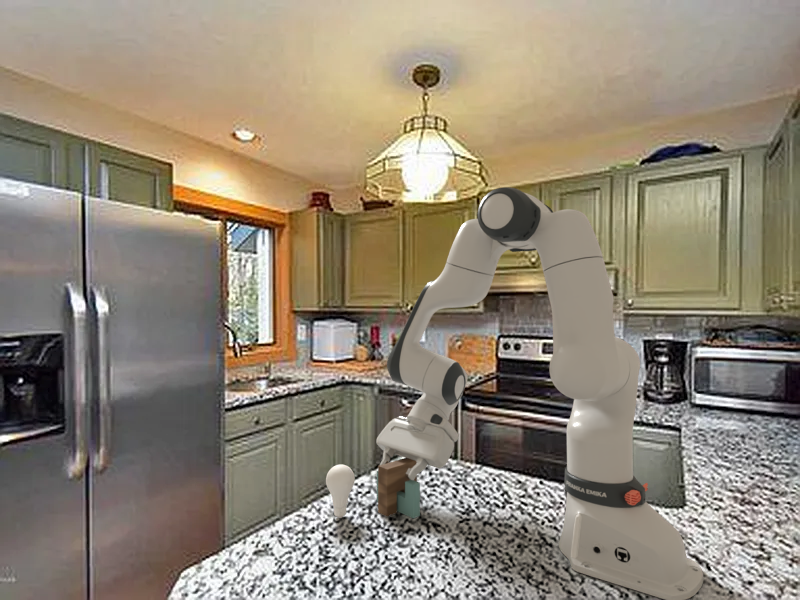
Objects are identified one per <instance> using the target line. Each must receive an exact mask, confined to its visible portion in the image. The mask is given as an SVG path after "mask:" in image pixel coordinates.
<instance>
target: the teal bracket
mask: <svg viewBox="0 0 800 600" xmlns="http://www.w3.org/2000/svg"><path fill="white" fill-rule="evenodd" d="M376 503H378V470H376ZM397 512H398V513H400V514H403V515H404V516H406V517H409V518H411V519H415V518H417V517H420V516H421V483H420V482H419V481H414V480H409V481H406V482H405V493H404V492H401V491H398V492H397Z"/></svg>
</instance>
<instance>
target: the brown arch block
mask: <svg viewBox="0 0 800 600" xmlns="http://www.w3.org/2000/svg"><path fill="white" fill-rule="evenodd" d="M416 464H417V462H416V461H414V460H411V459H408V458H405V457H403V458H401V459H396V460H394V461H391V462H390V461H389V463H387V464H383V465H380V464H379V465H378V466H377V471H378V502H377V513H378V514H380V515H382V516H385V517H390V516H393V515H395V514H397V512H398V511H397V492H398V491H401V492H404V493H405V482H406V481H409V480H410V479H408V478H407V477H406V476H405V474H406V472H407V470H408V468H410V469H411V468H413V467H414V466H415V465H416ZM417 480H418V475H417V476H416V477H415V479H414V481H417ZM417 482H418V481H417Z"/></svg>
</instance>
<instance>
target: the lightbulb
mask: <svg viewBox="0 0 800 600" xmlns="http://www.w3.org/2000/svg"><path fill="white" fill-rule="evenodd" d="M355 478H356V477H355V473H354V472H353V470H352V469H351V467H349V466H348V465H345V464H336V465H334V466H332V467H331V468H330V469H329V470H328V472H327V474H326V478H325V484H326V487H327V490H328V491H329V493H330V496H331V498H332V499H331V500H332V505H333V511H334V512H333V513H334V514H333V515H334V516H335V517H337V518H339V519H343V517H345V516H346V515H347V506H348V503H349V497H350V494H351V491H352V490H353V487H354V485H355V482H356V481H355V480H356V479H355Z"/></svg>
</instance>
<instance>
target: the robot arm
mask: <svg viewBox="0 0 800 600" xmlns="http://www.w3.org/2000/svg"><path fill="white" fill-rule="evenodd" d="M507 251H510V252H512V253H516V252H517V253H519V252H534V251H536V252H537V254H538V256H539V259H540V264H541V268H542V272H543V277H544V281H545V284H546V290H547V294H548V299H549V303H550V308H551V309H550V310H551V314H552V315H551V316H552V317H551V318H552V349H553V350H552V356H551V359H550V362H549V366H548V368H549V376H550V377H549V378H550V379H551V381H552V383H553V385H554V387H555V388H556V389H557V391H559V392H560V393H561V394H563V395H564V396H565V397H567V398H570V399H572V400H573V402H572V404H573V405H572V408H571V413H570V417H569V419H568V421H567V425H566V464H567V465H566V467H565V469H564V495H565V498H566V502H565V513H564V521H563V525H562V530H561V534H560V537H559V541H558V547H559V550H560V552H561V553H562V554H563V555H564V556H565V557H566V558H567V560H568V561H569V563H570V567H571V569H573V571H575V572H577V573H581V574H584V575H587V576H590V577H593V578H595V579H600V580H602V581H605V582H608V583H612V584H615V585H617V586H621V587H624V588H627V589H631V590H634V591H637V592H640V593H643V594H646V595H650V596H653V597H656V598H659V599H663V600H688V599H690V598H692V597H693V596H695V595H696V594H697V593H698V592H699V591H700V590H701V587H702V586H703V584H704V573H703V568H702V567H701V565H700V564H699V563H698V562H696V561H695V560H692V559H690V558H688V557H687V551H686V547H685V543H684V540H683V537H682V536H681V533H680V531H679V530H678V529H677V528H676V527H675V526H674V525H673V524H671V523H670V522H668V520H666V519H665V518H664V517H663V516H662V515H661V514H660V513H659V512H658V511H657V510H655V509H654V508H653V507H652V506H651V505H650V504H649V503H648V502H647V501H646V499H647V498H646V492H647V491H648V490H649V488H648V485H649V484H648V482H646V483H644V484H642V483H640V481H638V479H637V478H636V477H635V476H634V452H633V451H634V448H633V447H634V446H633V445H634V441H633V435H634V431H633V430H634V422H635V417H636V416H635V414H636V405H637V398H638V388H639V387H638V385H639V376H640V375H639V373H640V368H641V361H640V357H639V354H638V353H637V351H636V349H635V348H634V347H633V346H632V345H631V344H630V343H628V342H627V341H625V340H624V339H622V338H619V337H618V336H616V333H615V325H614V311H613V310H614V308H613V307H614V302H615V301H614V295H613V290H612V287H611V283H610V278H609V275H608V272H607V267H606V263H605V260H604V256H603V251H602V249H601V247H600V244H599V240H598V238H597V235H596V232H595V230H594V229H593V226H592V224H591V222H590V221H589V218H588V216H587V215H586V214H585V213H584V212H582V211H580V210H578V209H571V208H570V209H569V208H566V209H559V210H556V211H553V210H552V208H550V206H548V205H547V204H545V203H543V202H542V201H540V199H538V198H537V197H536V196H534V195H532V194H529V193H526V192H523V191H522V190H520V189H518V188H514V187H508V186H504V187H498V188H495V189H492V190H491V191H489V192H488V193H487V194H486V195H485V196H484V197H483V198H482V200H481V201H480V204H479V206H478V210H477V218H472V219H468V220H466V221H465V222H464V223H463V222H462V224H461V226H460V227H459V229H458V231H457V233H456V235H455V238H454V240H453V242H452V245H451V247H450V249H449V253H448V256H447V259H446V262H445V265H444V268H443V269H442V272H441V273H440V275H439V276H438V277H437V278H436V279H434V280H431V281H429V282H427V283H426V285H424V287H423V289H422V290H421V292H420V294H419V295H418V298H417V299H416V302H415V304H414V306H413V307H412V310H411V312H410V314H409V316H408V319H407V321H406V322H405V325H404V327H403V329H402V332H401V333H400V336H399V338H398V340H397V341H396V343H395V344H394V346H393V348H392V350H391V351H390V353H389V355H388V358H387V360H386V369H387V371H388V374H389V376H390V378H391V379H392V381H393V382H396V383H399V384H402V385H404V386H409V387H410V388H413V389H415V390H418V392H419V391H420V392H422V394H421V397H419V398H418V399H417V400H416V401H415V402H414V405H413V406H412V408H411V410H410V411H409V413H408V414H407V416H406V417H405V416H403V415H399V416H397V417H395V418H392V419H391V420H390V421H389V422H388V423H387V424H386V425H385V427H383V429H382V430H381V431H380V433H379V434H378V436H377V437H376V445H378V447H379V448H380V449H381V450H382V451H383V453H382V460H381V462H380V463H379V466H380V465H383V464H387V463H390V461H391V458H393V457H394V455H396V456H400V457H402V458H408V459H411V460H414V461H416V462H417V464H416V465H415V466H414V467H413V468H411V469H410V468H408V470H407V472H406V474H405V476H406V477H407V478H408V479H410V480H414V479H415V477H416V476H417V477H418V475H419V474H420V473H421V472H423V471H424V470H426V469H427V467H428V466H430V467H433V468H436V469H442V468H443V467H445V466H446V465H447V463H448V461H449V459H450V457H451V455H452V453H453V451H454V449H455V448H454V447H455V443H456V442H457V441H458V439H459V438H460V436H459V434H458V432H457V430H456V429H455V427H453V425H452V424H451V423H450V421H449V420H450V415H451V413H452V412H453V411H454V409H456V407H457V405H458V403H459V401H460V399H461V398H462V396H463V394H464V392H465V388H466V385H467V383H468V382H467V381H468V374H467V371H466V370H465V368H464V367H462V366H461V364H460V362H458V361H456V360H455V359H452V358H450V357H448V356H445V355H443V354H439V353H436V352H434V351H431V350H429V349H427V348H424V347H422V346H421V344H420V343H421V342H420V341H421V340H422V337H423V336H424V333H425V332H426V329H427V327H428V325H429V323H430V322H431V321H430V320H431V319H432V317H433V316H434V314H435V313H436V312H438V311H439V310H442V309H451V308H453V309H454V308H455V309H457V308H466V307H471V306H474V305H476V304H478V303H480V302H481V301H483V300H484V299H485V298H486V296H487V295H488V293H489V291H490V289H491V286H492V284H493V280H494V278H495V274H496V271H497V270H496V269H497V267H498V264H499V260H500V259H501V257H502V255H504V253H505V252H507Z"/></svg>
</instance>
